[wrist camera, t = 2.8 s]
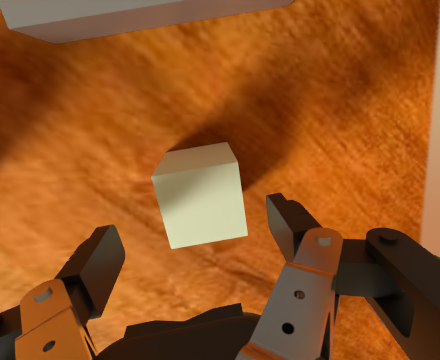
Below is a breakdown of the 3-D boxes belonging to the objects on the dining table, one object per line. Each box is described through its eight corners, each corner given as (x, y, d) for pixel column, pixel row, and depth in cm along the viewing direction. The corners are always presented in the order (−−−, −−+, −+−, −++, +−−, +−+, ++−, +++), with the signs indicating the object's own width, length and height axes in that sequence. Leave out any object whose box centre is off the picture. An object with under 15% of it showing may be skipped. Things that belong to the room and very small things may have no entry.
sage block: (227, 141, 19) (237, 161, 13) (235, 197, 21) (247, 235, 15) (166, 152, 19) (151, 177, 13) (179, 206, 21) (171, 248, 15)
